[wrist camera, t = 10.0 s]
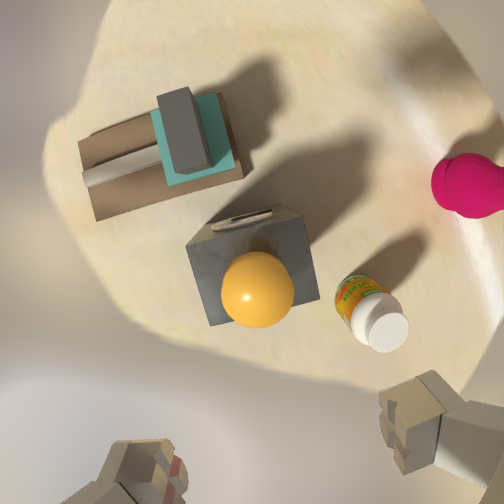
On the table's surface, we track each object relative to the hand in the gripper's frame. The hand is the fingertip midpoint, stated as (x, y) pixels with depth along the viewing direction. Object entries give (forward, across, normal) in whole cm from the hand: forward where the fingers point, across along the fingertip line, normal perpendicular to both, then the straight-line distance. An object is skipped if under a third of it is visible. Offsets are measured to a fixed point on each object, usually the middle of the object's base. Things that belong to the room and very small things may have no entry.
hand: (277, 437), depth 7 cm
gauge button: (+13, 0, 0) cm, 13 cm away
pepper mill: (+27, -25, -1) cm, 37 cm away
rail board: (+27, +7, -11) cm, 30 cm away
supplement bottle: (+28, -10, +9) cm, 31 cm away
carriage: (+25, +2, -11) cm, 28 cm away
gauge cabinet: (+27, 0, 0) cm, 27 cm away
